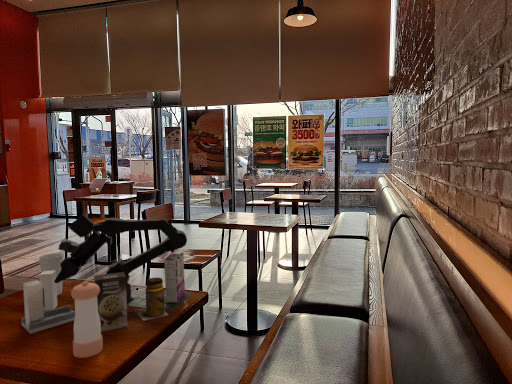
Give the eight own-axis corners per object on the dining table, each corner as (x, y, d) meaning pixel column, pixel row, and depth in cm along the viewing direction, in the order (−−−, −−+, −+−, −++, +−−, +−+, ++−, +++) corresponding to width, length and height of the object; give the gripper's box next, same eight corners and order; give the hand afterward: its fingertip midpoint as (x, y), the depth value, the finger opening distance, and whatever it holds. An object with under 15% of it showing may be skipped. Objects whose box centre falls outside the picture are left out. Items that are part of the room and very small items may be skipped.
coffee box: (96, 333, 107) (94, 280, 106) (95, 325, 113) (92, 275, 112) (128, 326, 111) (126, 276, 110) (125, 319, 117) (123, 270, 116)
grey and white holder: (70, 311, 124) (68, 272, 123) (80, 318, 118) (78, 277, 117) (21, 325, 113) (19, 282, 112) (30, 333, 107) (27, 288, 106)
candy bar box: (172, 292, 142) (171, 252, 141) (185, 292, 142) (184, 252, 141) (164, 303, 130) (163, 258, 130) (178, 303, 130) (177, 258, 129)
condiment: (168, 315, 120) (167, 280, 119) (143, 321, 115) (142, 285, 114) (161, 308, 126) (160, 275, 125) (137, 313, 121) (136, 279, 121)
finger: (57, 305, 130) (55, 270, 129) (53, 309, 126) (51, 273, 125) (43, 306, 129) (41, 271, 128) (39, 311, 125) (37, 274, 124)
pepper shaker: (97, 357, 93) (94, 285, 92) (68, 358, 93) (65, 286, 91) (106, 343, 100) (103, 277, 99) (79, 345, 100) (76, 277, 99)
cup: (47, 290, 146) (45, 253, 145) (69, 289, 147) (67, 252, 146) (36, 298, 137) (34, 258, 136) (60, 297, 138) (58, 257, 137)
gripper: (79, 227, 137) (49, 257, 135) (65, 236, 119) (30, 271, 117) (102, 246, 139) (73, 276, 137) (92, 257, 121) (58, 292, 119)
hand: (59, 278), depth 128 cm, fingers open, 9 cm apart
